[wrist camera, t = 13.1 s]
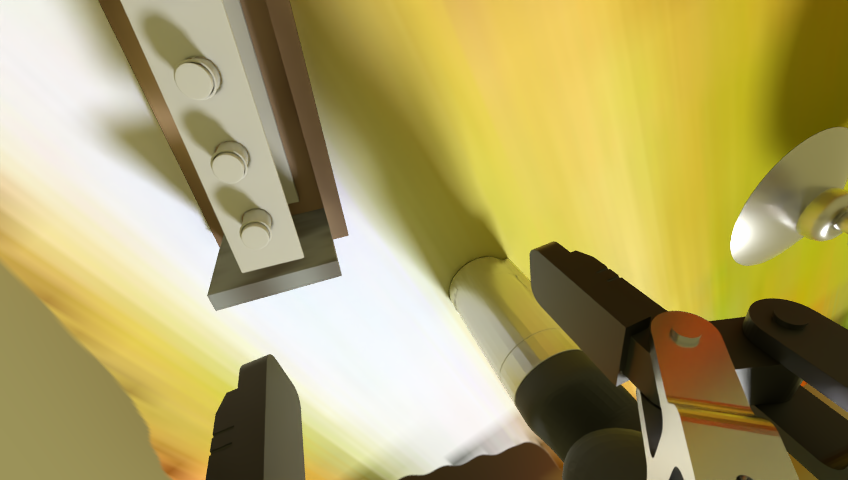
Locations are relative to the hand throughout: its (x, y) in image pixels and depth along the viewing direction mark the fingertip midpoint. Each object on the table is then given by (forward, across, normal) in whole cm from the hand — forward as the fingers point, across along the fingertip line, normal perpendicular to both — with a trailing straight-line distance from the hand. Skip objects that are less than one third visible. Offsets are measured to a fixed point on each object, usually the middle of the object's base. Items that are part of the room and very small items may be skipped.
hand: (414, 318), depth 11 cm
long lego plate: (+27, +5, -6) cm, 28 cm away
